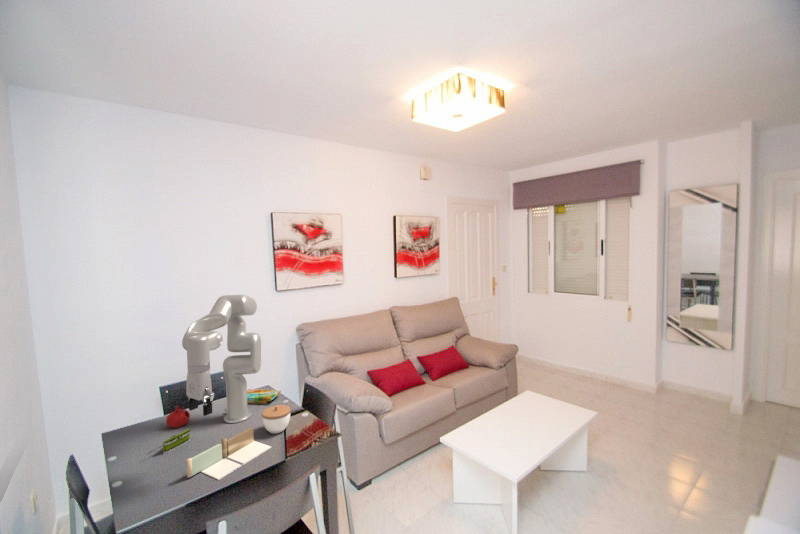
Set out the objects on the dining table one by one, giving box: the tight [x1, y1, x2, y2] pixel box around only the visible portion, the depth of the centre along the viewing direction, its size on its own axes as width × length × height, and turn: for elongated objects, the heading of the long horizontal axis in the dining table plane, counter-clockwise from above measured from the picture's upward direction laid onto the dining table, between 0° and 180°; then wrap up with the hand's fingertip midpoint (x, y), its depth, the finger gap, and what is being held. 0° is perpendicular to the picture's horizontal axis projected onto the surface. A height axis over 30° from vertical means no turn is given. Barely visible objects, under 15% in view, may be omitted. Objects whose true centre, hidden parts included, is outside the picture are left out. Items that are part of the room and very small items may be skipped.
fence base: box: [220, 427, 255, 458], centre depth 147 cm, size 2×14×8 cm, turn 152°
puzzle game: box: [247, 388, 282, 405], centre depth 198 cm, size 12×5×20 cm
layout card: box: [199, 440, 272, 481], centre depth 143 cm, size 20×24×1 cm
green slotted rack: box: [146, 428, 191, 455], centre depth 149 cm, size 7×19×10 cm
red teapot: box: [165, 405, 191, 429], centre depth 171 cm, size 10×10×9 cm
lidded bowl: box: [261, 404, 291, 435], centre depth 164 cm, size 13×13×11 cm
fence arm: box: [186, 442, 222, 478], centre depth 134 cm, size 2×13×6 cm, turn 151°
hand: (200, 411), depth 136 cm, fingers open, 9 cm apart
